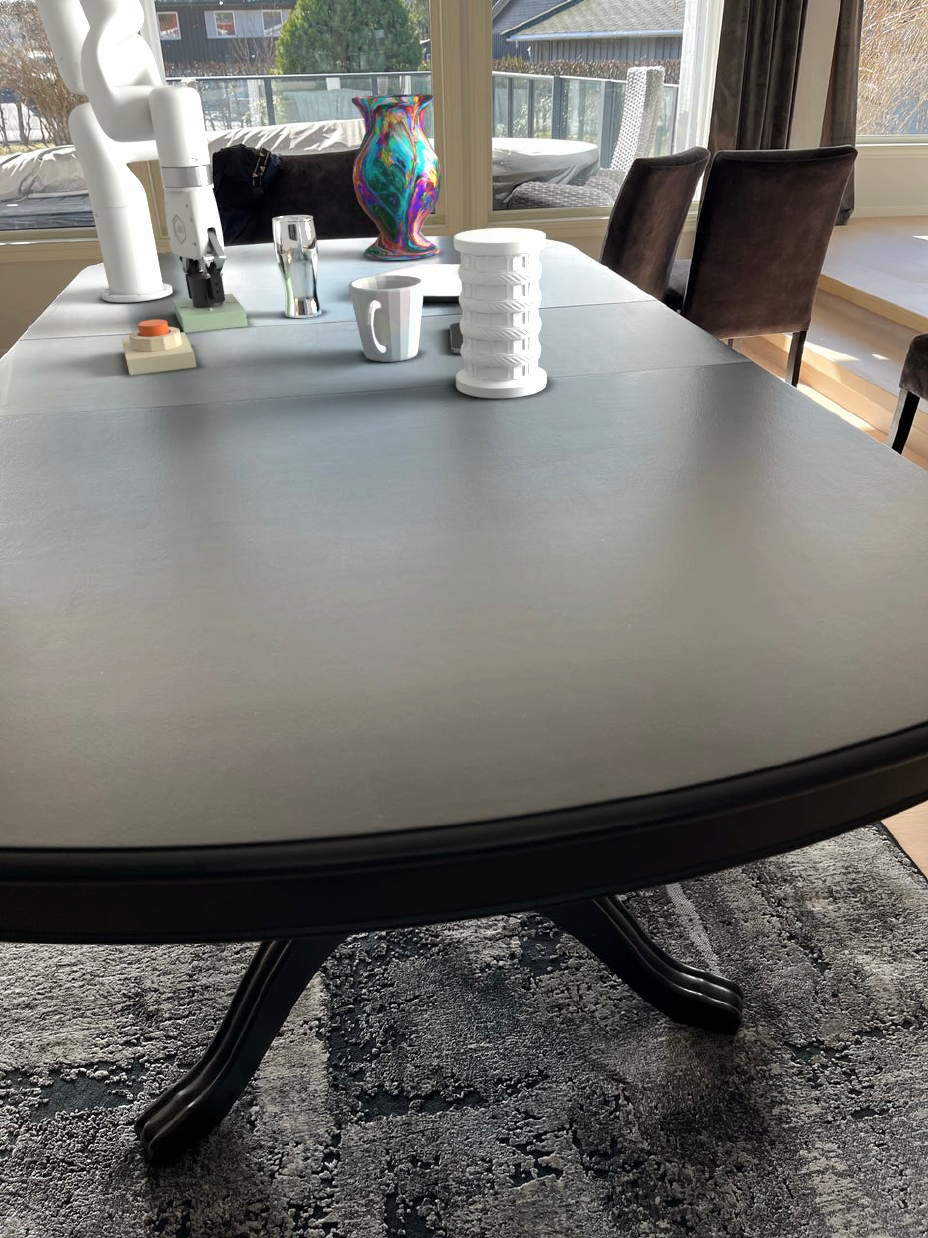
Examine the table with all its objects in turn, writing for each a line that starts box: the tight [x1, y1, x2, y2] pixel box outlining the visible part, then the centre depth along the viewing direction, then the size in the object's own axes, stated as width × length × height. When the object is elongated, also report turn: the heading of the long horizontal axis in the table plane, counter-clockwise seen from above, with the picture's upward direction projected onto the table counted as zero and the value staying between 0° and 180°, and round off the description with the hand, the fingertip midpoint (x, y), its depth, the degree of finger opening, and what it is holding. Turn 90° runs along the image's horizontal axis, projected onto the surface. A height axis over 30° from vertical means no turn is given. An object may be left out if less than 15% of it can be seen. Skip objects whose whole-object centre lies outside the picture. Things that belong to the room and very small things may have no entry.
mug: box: [348, 275, 424, 363], centre depth 130 cm, size 10×15×10 cm
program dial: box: [188, 273, 223, 308], centre depth 154 cm, size 5×5×5 cm
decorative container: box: [453, 227, 547, 399], centre depth 116 cm, size 12×12×18 cm
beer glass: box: [271, 214, 323, 319], centre depth 154 cm, size 7×7×15 cm
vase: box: [350, 93, 442, 261], centre depth 196 cm, size 18×18×30 cm
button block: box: [121, 326, 197, 376], centre depth 135 cm, size 12×9×4 cm
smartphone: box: [449, 322, 463, 354], centre depth 140 cm, size 8×1×15 cm
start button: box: [137, 319, 169, 337], centre depth 133 cm, size 4×4×2 cm
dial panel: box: [172, 293, 248, 334], centre depth 156 cm, size 14×10×3 cm
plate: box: [374, 263, 462, 303], centre depth 171 cm, size 27×27×2 cm
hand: (207, 298), depth 155 cm, fingers closed on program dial, 4 cm apart
